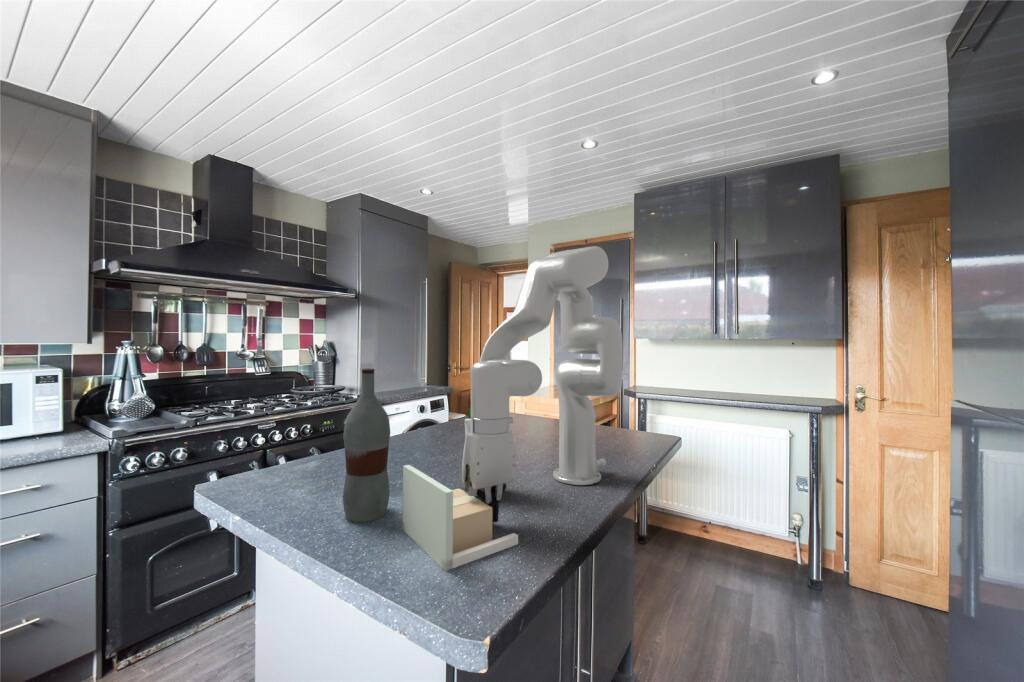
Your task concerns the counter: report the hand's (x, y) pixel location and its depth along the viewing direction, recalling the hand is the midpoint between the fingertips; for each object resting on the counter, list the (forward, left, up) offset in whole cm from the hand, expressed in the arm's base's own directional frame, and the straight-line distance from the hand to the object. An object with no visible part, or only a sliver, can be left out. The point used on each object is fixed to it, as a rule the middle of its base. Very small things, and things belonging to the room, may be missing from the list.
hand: (490, 520), depth 76 cm
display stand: (+6, 0, -1) cm, 7 cm away
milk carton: (-9, -15, -1) cm, 17 cm away
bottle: (+17, -20, -1) cm, 26 cm away
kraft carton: (+8, -1, -1) cm, 8 cm away
